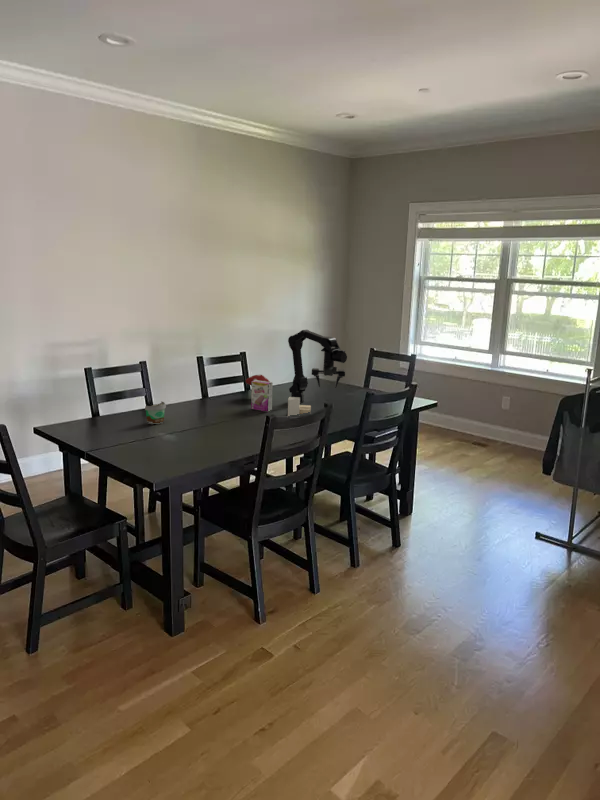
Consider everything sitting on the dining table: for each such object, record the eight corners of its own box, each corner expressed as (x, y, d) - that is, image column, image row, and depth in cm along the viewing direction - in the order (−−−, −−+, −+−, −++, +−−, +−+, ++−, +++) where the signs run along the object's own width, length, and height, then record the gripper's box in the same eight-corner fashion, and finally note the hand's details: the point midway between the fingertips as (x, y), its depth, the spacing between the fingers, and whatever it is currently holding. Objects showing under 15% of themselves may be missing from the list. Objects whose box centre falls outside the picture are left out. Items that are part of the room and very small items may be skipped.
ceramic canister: (287, 417, 334) (288, 399, 332) (288, 414, 340) (289, 396, 338) (298, 418, 334) (299, 400, 332) (299, 415, 340) (300, 397, 337)
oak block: (291, 409, 352) (291, 404, 352) (310, 410, 352) (310, 405, 351) (289, 414, 342) (289, 409, 341) (309, 415, 341) (309, 410, 340)
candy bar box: (250, 409, 348) (250, 381, 344) (254, 407, 352) (255, 379, 348) (268, 412, 343) (268, 383, 339) (272, 410, 348) (272, 381, 344)
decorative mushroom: (259, 394, 383) (259, 370, 379) (277, 399, 372) (277, 375, 369) (239, 398, 372) (239, 374, 368) (257, 403, 361) (257, 378, 358)
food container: (154, 427, 310) (153, 407, 307) (145, 425, 313) (144, 405, 311) (171, 421, 320) (171, 403, 318) (162, 419, 323) (162, 401, 321)
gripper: (312, 362, 340) (310, 389, 344) (346, 363, 339) (344, 391, 343) (312, 358, 350) (311, 385, 354) (345, 359, 350) (343, 386, 354)
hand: (327, 387), depth 351 cm, fingers open, 9 cm apart
